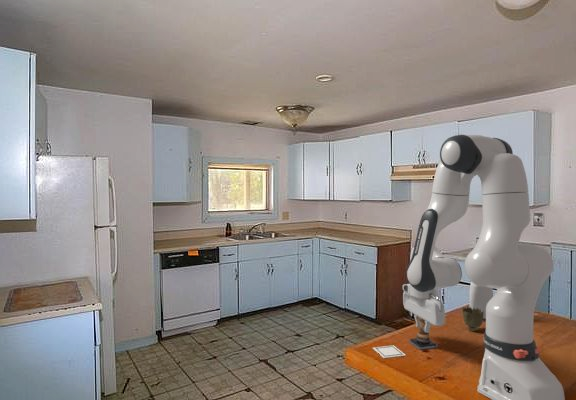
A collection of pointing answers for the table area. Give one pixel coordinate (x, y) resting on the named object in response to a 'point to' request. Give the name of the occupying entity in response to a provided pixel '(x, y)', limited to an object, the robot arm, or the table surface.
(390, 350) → the white flat square plate
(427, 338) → the stamp
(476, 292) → the soap bottle
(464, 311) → the cup
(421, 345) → the ink pad
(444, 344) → the table surface
